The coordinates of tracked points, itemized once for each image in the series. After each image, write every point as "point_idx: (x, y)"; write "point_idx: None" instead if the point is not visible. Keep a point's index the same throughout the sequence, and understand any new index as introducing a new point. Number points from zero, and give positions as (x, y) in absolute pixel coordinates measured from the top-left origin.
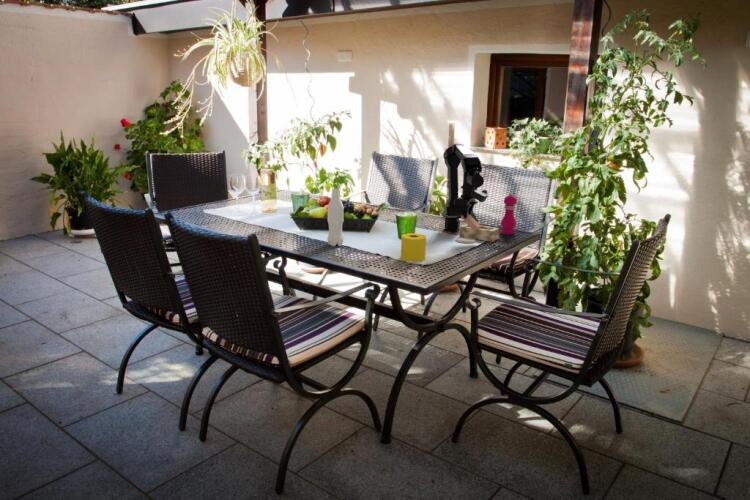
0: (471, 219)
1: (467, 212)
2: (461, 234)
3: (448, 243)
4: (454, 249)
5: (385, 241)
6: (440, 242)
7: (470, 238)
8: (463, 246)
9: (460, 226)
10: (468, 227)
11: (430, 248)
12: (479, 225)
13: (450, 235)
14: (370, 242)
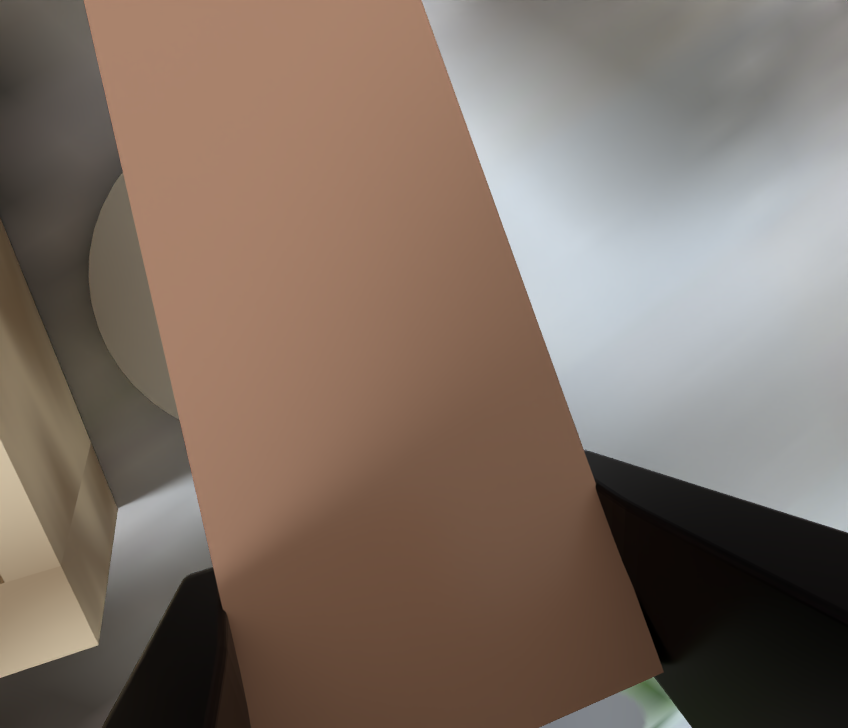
0: (407, 333)
1: (829, 558)
2: (102, 509)
3: (566, 362)
4: (778, 128)
5: None
6: None
7: (140, 278)
8: (594, 115)
9: (97, 639)
10: (15, 493)
11: (832, 355)
12: (153, 27)
13: None
14: None
